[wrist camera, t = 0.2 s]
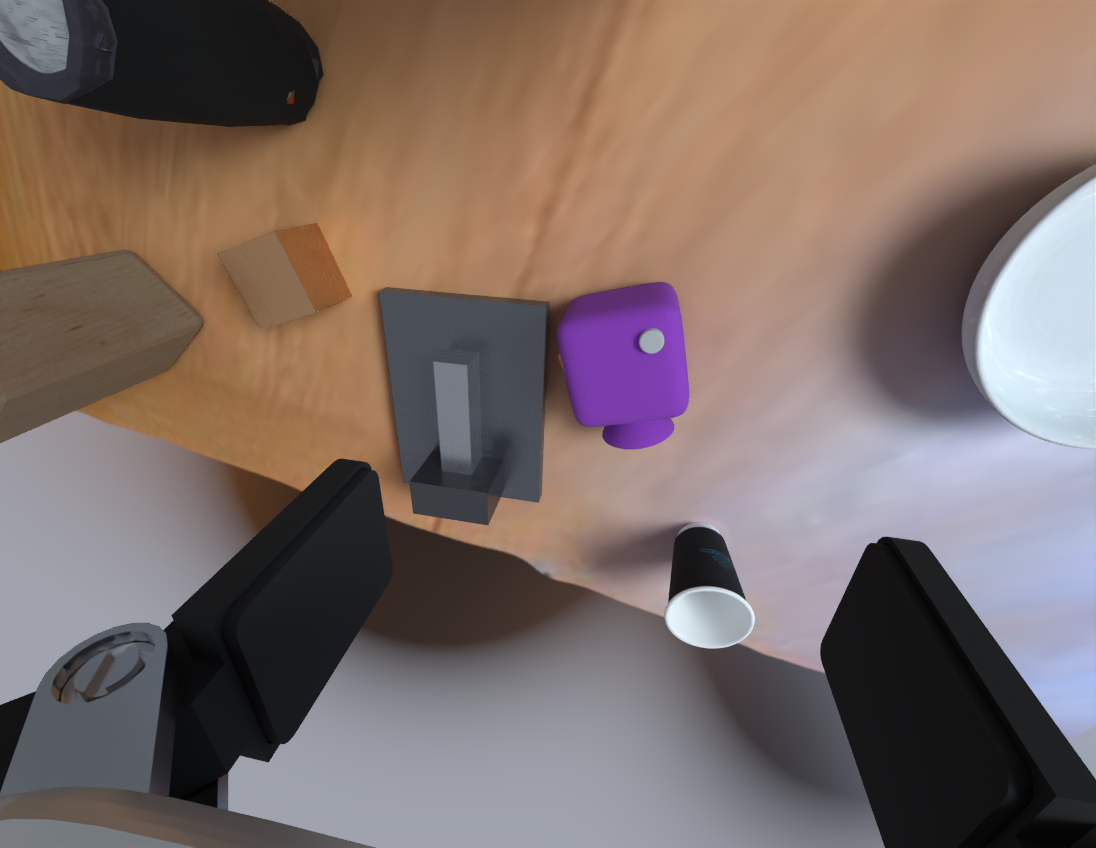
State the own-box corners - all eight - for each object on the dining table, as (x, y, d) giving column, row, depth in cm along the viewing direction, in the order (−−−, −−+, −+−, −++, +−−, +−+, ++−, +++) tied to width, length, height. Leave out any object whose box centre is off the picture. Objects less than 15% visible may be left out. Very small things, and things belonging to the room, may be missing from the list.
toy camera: (603, 428, 50) (593, 485, 41) (550, 304, 45) (527, 339, 36) (710, 397, 46) (723, 452, 37) (666, 258, 41) (670, 285, 32)
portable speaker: (353, 83, 39) (128, 27, 22) (282, 154, 43) (42, 152, 26) (278, -33, 36) (-45, -198, 19) (209, 54, 40) (-113, -21, 23)
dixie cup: (737, 510, 51) (757, 590, 42) (735, 566, 55) (752, 651, 45) (660, 510, 53) (663, 587, 44) (663, 565, 57) (665, 646, 47)
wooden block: (131, 244, 50) (-145, 289, 32) (211, 320, 52) (-6, 399, 35) (97, 303, 54) (-163, 370, 37) (172, 371, 57) (-38, 463, 39)
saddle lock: (265, 243, 47) (217, 253, 42) (317, 223, 45) (274, 231, 40) (301, 312, 50) (261, 330, 45) (352, 296, 48) (316, 312, 43)
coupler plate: (386, 287, 47) (343, 307, 40) (549, 301, 44) (532, 326, 38) (409, 474, 57) (378, 515, 51) (541, 494, 55) (526, 538, 49)
